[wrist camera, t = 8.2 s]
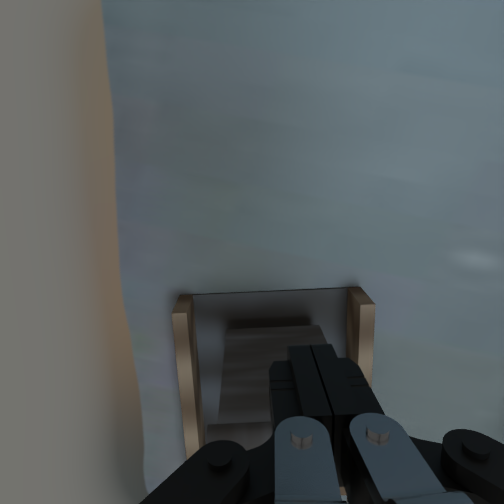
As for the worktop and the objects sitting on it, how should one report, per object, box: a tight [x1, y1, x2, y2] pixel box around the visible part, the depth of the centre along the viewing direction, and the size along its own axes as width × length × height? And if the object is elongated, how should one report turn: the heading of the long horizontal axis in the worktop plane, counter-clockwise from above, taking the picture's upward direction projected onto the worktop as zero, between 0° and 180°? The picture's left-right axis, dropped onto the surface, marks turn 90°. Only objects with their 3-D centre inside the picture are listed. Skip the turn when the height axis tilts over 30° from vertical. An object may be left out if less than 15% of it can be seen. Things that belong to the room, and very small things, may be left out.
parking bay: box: [172, 287, 375, 495], centre depth 34 cm, size 19×16×4 cm
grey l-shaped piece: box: [206, 325, 328, 451], centre depth 28 cm, size 11×9×15 cm
